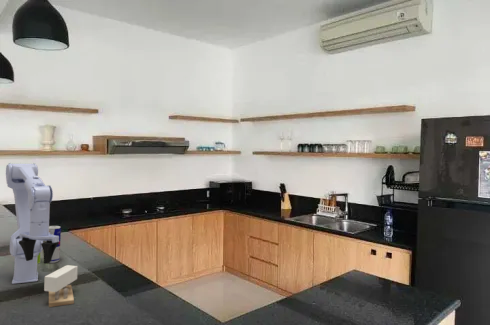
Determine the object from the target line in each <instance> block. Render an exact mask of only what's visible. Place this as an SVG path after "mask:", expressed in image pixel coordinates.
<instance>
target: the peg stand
mask: <svg viewBox="0 0 490 325" xmlns="http://www.w3.org/2000/svg"><path fill="white" fill-rule="evenodd" d="M74 304H75V299H74V293H73V287H72V284H68V285H67V286H65V287H63V288H62V289H60V290H59V291H57V292H51V291H48V308H53V307H59V306H66V305H68V306H69V305H74Z"/></svg>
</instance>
